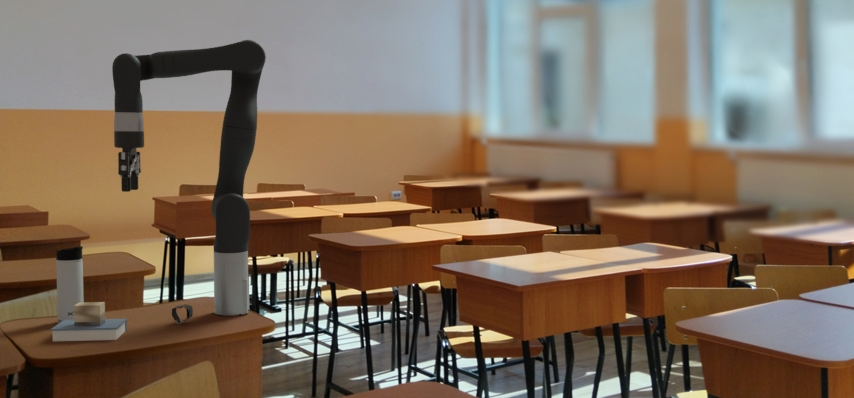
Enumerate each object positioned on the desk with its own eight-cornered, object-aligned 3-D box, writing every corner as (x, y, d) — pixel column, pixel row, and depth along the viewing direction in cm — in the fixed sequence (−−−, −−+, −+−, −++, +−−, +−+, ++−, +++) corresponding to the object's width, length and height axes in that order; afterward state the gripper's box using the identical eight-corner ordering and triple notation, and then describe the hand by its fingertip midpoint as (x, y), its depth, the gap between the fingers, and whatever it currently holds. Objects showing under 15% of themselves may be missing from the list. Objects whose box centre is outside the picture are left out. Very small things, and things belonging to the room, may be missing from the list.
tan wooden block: (105, 322, 196) (104, 302, 196) (100, 325, 192) (99, 305, 192) (79, 322, 196) (79, 302, 195) (74, 326, 192) (73, 305, 191)
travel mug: (75, 325, 205) (73, 248, 204) (52, 324, 207) (50, 247, 205) (90, 320, 211) (88, 245, 210) (67, 319, 213) (66, 244, 211)
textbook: (127, 332, 201) (126, 318, 200) (116, 342, 191) (116, 327, 190) (64, 333, 199) (64, 319, 198) (50, 343, 189) (50, 329, 189)
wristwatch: (189, 325, 207) (188, 306, 206) (171, 324, 208) (170, 305, 208) (195, 322, 210) (194, 303, 209) (177, 321, 211) (177, 302, 210)
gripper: (137, 129, 207) (138, 192, 208) (149, 130, 221) (150, 189, 222) (107, 129, 206) (108, 192, 207) (121, 130, 220) (122, 189, 221)
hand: (130, 190), depth 214 cm, fingers open, 8 cm apart
